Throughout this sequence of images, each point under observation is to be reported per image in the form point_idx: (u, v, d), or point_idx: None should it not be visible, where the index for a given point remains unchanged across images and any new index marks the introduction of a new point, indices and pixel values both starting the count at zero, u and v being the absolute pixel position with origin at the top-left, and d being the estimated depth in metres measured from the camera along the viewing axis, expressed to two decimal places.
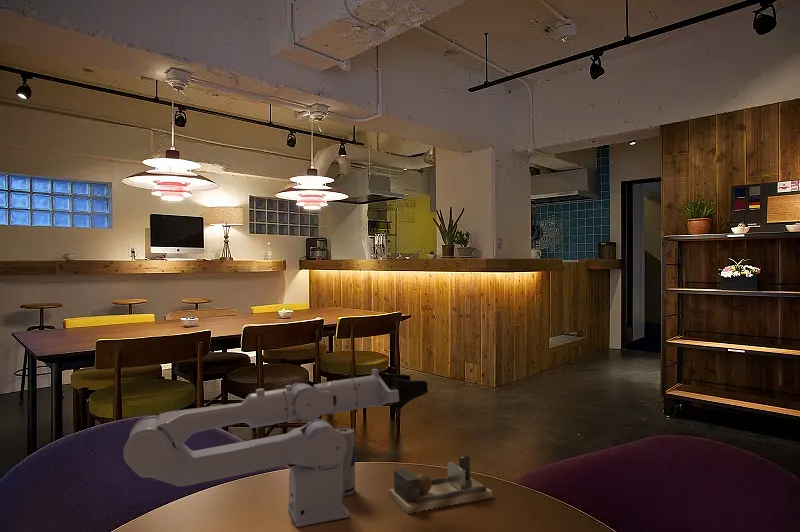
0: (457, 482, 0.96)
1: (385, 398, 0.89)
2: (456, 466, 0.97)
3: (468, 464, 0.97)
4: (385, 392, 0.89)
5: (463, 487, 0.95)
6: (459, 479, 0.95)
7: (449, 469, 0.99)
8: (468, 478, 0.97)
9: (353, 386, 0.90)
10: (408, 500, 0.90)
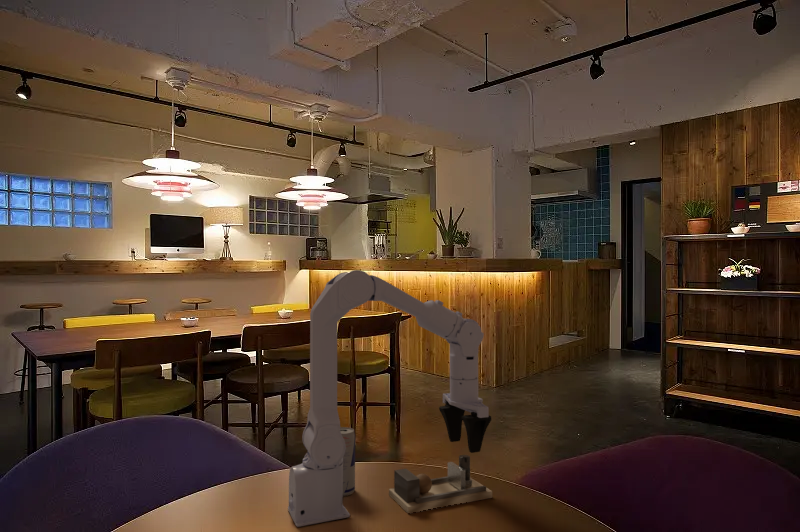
0: (457, 482, 0.96)
1: (474, 406, 0.94)
2: (456, 466, 0.97)
3: (468, 464, 0.97)
4: None
5: (463, 487, 0.95)
6: (459, 479, 0.95)
7: (449, 469, 0.99)
8: (468, 478, 0.97)
9: (477, 376, 0.98)
10: (408, 500, 0.90)
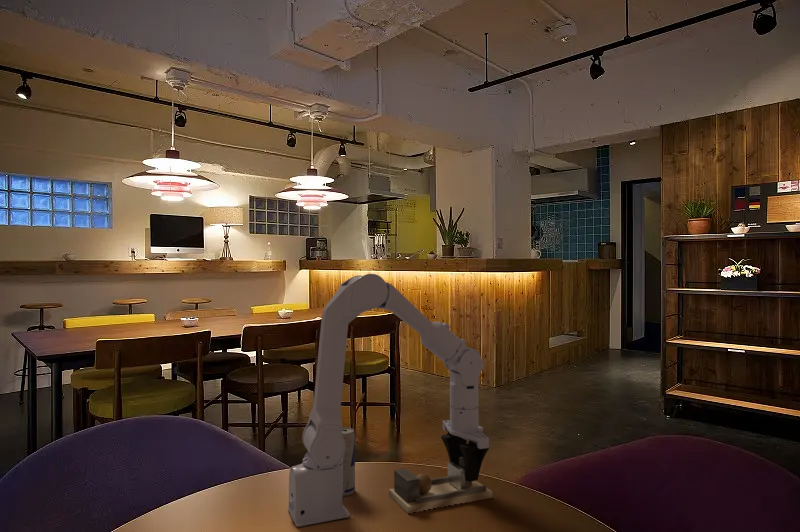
0: (457, 482, 0.96)
1: None
2: (456, 466, 0.97)
3: None
4: None
5: (463, 487, 0.95)
6: (459, 479, 0.95)
7: (449, 469, 0.99)
8: None
9: (477, 405, 0.98)
10: (408, 500, 0.90)
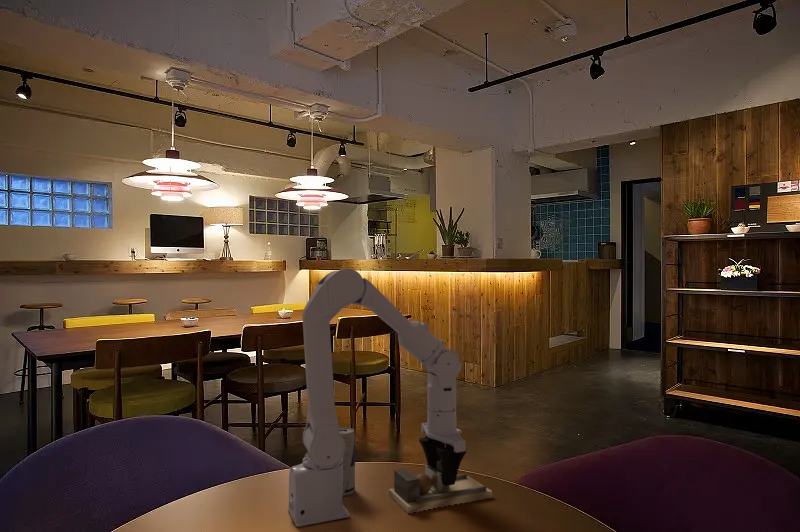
0: (434, 486, 0.94)
1: (451, 439, 0.92)
2: (433, 470, 0.95)
3: None
4: (456, 439, 0.92)
5: (440, 491, 0.93)
6: (436, 483, 0.93)
7: (426, 472, 0.97)
8: None
9: (455, 408, 0.95)
10: (408, 500, 0.90)
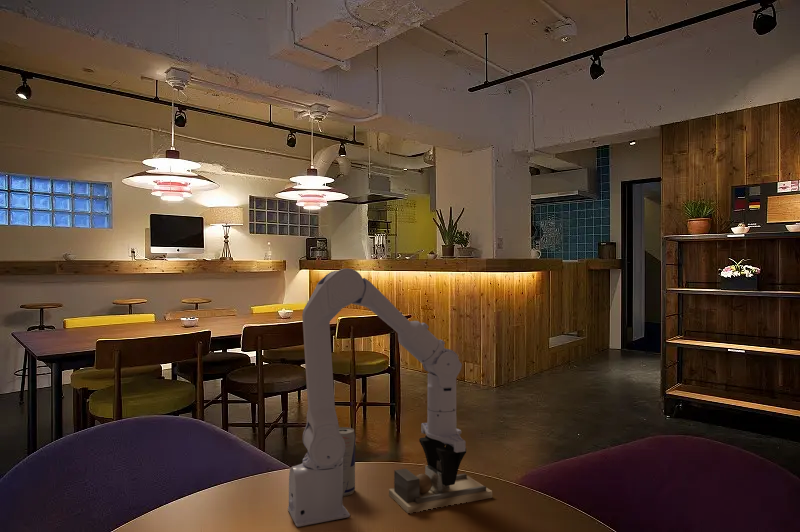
0: (434, 486, 0.94)
1: (451, 439, 0.92)
2: (433, 470, 0.95)
3: None
4: (456, 439, 0.92)
5: (440, 491, 0.93)
6: (436, 483, 0.93)
7: (426, 472, 0.97)
8: None
9: (455, 408, 0.95)
10: (408, 500, 0.90)
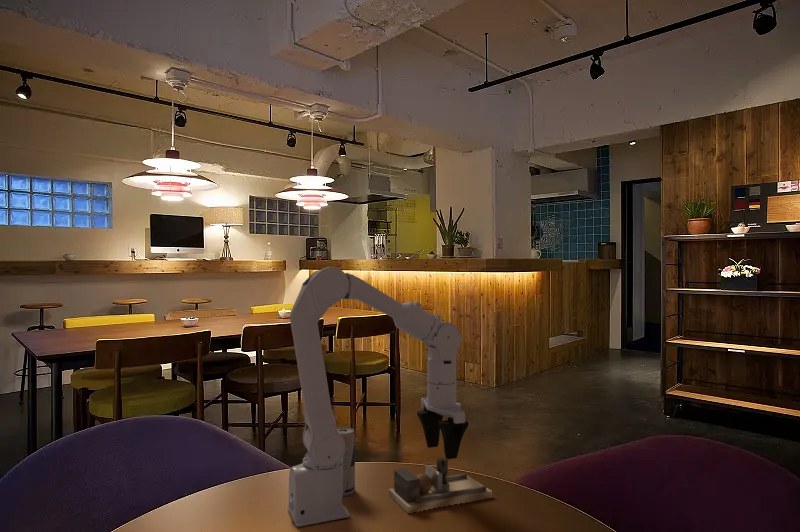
0: (434, 486, 0.94)
1: None
2: (433, 470, 0.95)
3: (446, 468, 0.95)
4: (456, 411, 0.93)
5: (440, 491, 0.93)
6: (436, 483, 0.93)
7: (426, 472, 0.97)
8: (446, 482, 0.95)
9: (454, 381, 0.96)
10: (408, 500, 0.90)
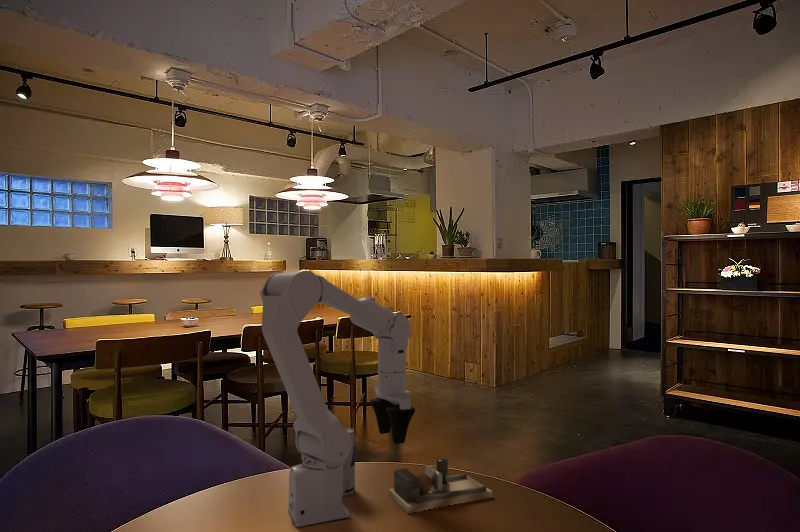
0: (434, 486, 0.94)
1: None
2: (433, 470, 0.95)
3: (446, 468, 0.95)
4: (403, 398, 0.97)
5: (440, 491, 0.93)
6: (436, 483, 0.93)
7: (426, 472, 0.97)
8: (446, 482, 0.95)
9: (405, 369, 1.01)
10: (408, 500, 0.90)
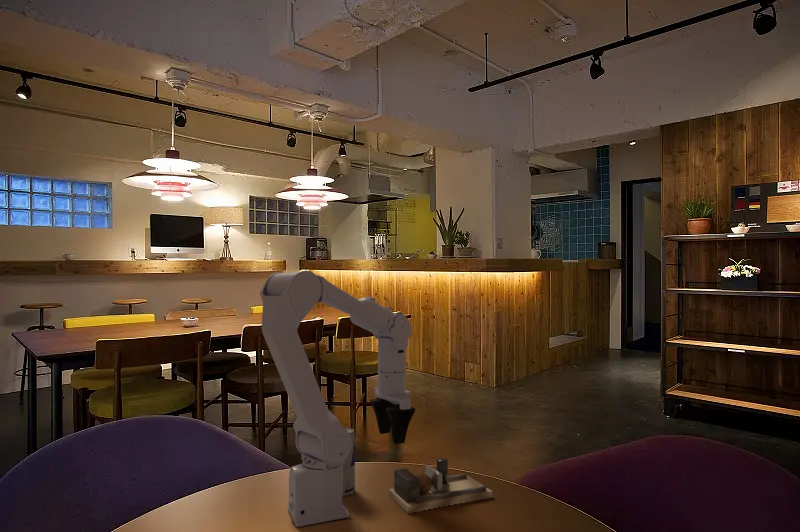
0: (434, 486, 0.94)
1: None
2: (433, 470, 0.95)
3: (446, 468, 0.95)
4: (403, 398, 0.97)
5: (440, 491, 0.93)
6: (436, 483, 0.93)
7: (426, 472, 0.97)
8: (446, 482, 0.95)
9: (405, 369, 1.01)
10: (408, 500, 0.90)
